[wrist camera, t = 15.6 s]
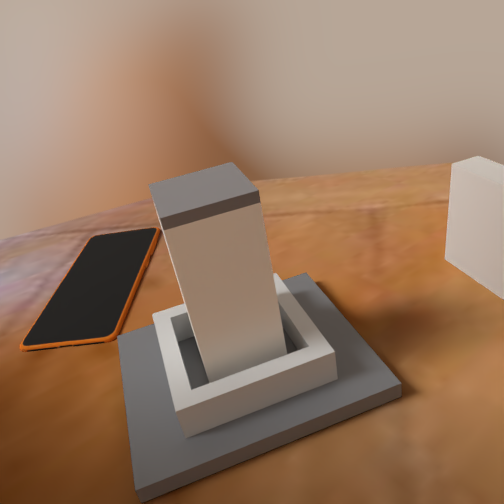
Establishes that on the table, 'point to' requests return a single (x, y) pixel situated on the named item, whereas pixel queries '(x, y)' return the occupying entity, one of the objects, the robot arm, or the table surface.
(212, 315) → the block
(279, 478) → the table surface
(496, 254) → the robot arm
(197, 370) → the dock
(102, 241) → the smartphone
